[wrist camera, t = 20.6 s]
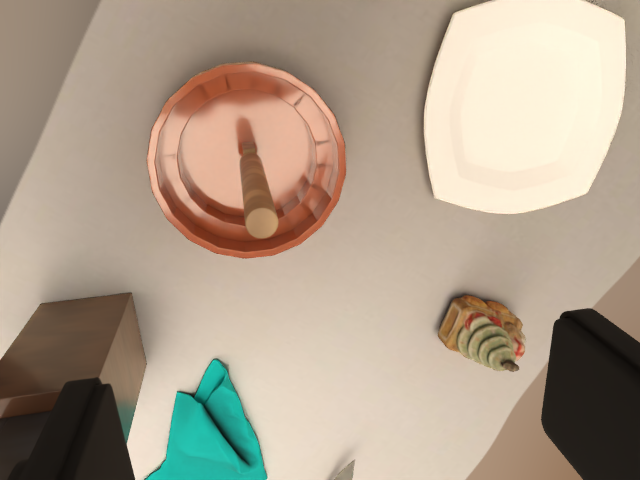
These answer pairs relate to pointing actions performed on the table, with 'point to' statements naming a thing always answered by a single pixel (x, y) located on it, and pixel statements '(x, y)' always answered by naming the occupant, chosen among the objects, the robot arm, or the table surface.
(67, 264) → the table surface
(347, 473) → the knife
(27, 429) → the utensil stand
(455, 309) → the ornament
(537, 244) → the table surface
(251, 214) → the stick
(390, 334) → the table surface
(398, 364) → the table surface
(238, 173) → the bowl
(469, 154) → the plate
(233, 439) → the cloth
